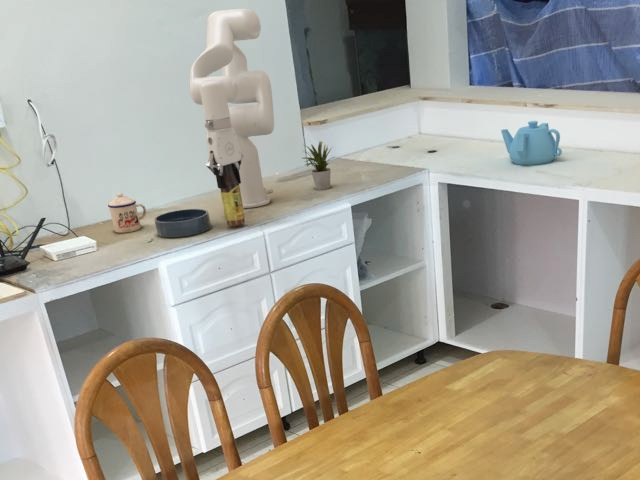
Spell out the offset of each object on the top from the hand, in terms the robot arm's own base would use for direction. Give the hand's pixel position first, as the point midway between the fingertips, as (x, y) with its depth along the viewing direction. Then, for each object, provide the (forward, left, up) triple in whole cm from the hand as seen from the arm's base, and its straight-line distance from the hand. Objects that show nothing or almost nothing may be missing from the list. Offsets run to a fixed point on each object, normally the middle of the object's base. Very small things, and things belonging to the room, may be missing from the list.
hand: (229, 185), depth 295 cm
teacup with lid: (+13, -36, -13) cm, 40 cm away
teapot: (-110, +49, -13) cm, 121 cm away
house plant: (-54, -8, -13) cm, 56 cm away
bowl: (+10, -14, -13) cm, 21 cm away
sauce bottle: (0, 0, -12) cm, 12 cm away
